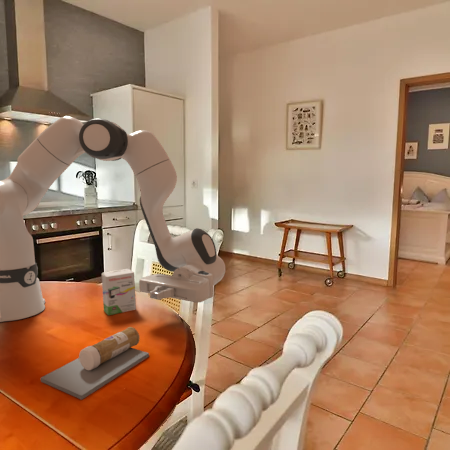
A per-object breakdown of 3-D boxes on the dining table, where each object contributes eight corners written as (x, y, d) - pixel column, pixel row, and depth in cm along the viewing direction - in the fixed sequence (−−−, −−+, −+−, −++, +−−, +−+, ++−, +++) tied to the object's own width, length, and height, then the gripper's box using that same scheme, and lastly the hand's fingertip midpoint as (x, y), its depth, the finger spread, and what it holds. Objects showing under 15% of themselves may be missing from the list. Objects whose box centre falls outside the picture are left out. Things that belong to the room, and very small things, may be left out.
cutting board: (110, 344, 88) (110, 341, 88) (149, 356, 82) (148, 353, 82) (40, 381, 72) (40, 377, 72) (81, 399, 66) (81, 395, 66)
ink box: (107, 316, 105) (105, 276, 104) (103, 310, 109) (101, 272, 108) (136, 309, 110) (134, 271, 108) (131, 304, 114) (129, 268, 112)
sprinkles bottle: (136, 324, 85) (88, 347, 73) (143, 343, 84) (96, 369, 73) (123, 328, 87) (75, 351, 76) (130, 347, 87) (82, 372, 75)
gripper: (158, 266, 107) (123, 278, 95) (217, 274, 97) (186, 289, 85) (159, 287, 108) (124, 301, 96) (218, 297, 98) (187, 315, 86)
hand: (154, 296), depth 91 cm, fingers closed
